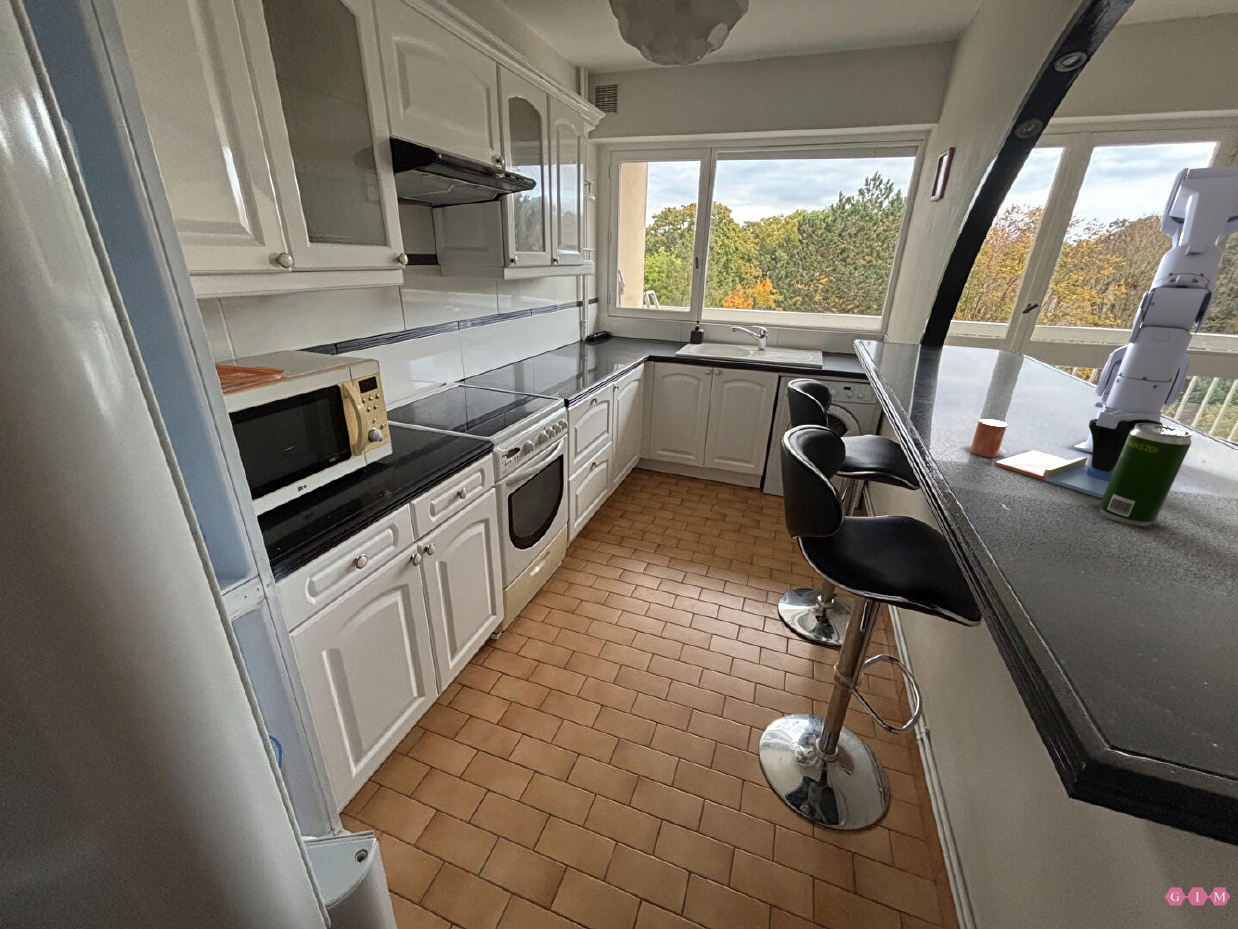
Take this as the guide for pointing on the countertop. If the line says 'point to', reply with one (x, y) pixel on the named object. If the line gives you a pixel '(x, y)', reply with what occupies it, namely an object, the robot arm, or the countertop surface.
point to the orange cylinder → (988, 437)
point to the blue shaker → (1099, 473)
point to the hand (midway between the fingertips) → (1107, 467)
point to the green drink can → (1144, 473)
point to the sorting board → (1056, 471)
